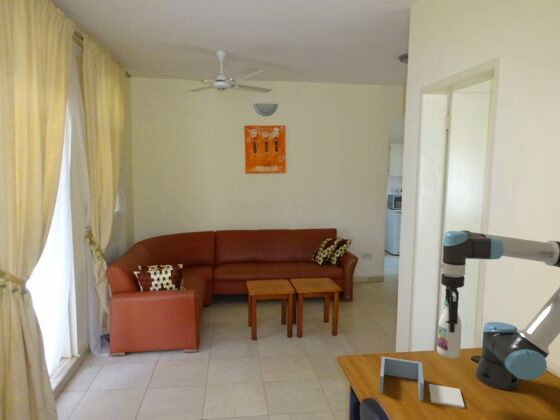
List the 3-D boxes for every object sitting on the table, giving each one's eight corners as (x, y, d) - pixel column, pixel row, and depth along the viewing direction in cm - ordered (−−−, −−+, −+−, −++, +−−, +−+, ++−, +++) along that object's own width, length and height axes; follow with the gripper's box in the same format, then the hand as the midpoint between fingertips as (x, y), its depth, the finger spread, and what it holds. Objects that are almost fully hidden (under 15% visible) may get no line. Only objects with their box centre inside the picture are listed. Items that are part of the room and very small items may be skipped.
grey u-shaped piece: (420, 378, 152) (421, 362, 152) (422, 401, 138) (423, 383, 137) (381, 372, 157) (381, 356, 156) (379, 393, 142) (380, 375, 142)
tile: (459, 390, 144) (459, 388, 144) (464, 408, 134) (464, 406, 134) (428, 385, 148) (428, 383, 147) (431, 402, 137) (431, 400, 137)
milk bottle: (456, 349, 142) (460, 298, 139) (462, 360, 134) (465, 305, 132) (435, 347, 143) (437, 296, 141) (439, 357, 136) (442, 304, 133)
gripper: (438, 266, 146) (435, 322, 149) (445, 281, 127) (441, 346, 129) (460, 268, 144) (456, 325, 147) (469, 283, 125) (465, 349, 127)
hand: (449, 335), depth 138 cm, fingers closed on milk bottle, 8 cm apart
